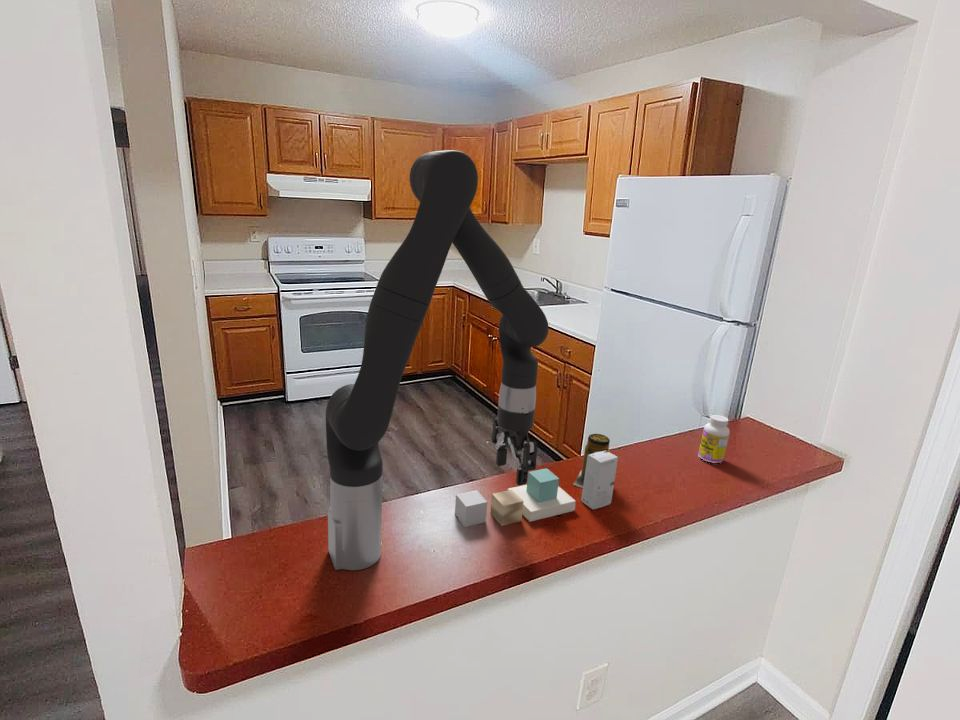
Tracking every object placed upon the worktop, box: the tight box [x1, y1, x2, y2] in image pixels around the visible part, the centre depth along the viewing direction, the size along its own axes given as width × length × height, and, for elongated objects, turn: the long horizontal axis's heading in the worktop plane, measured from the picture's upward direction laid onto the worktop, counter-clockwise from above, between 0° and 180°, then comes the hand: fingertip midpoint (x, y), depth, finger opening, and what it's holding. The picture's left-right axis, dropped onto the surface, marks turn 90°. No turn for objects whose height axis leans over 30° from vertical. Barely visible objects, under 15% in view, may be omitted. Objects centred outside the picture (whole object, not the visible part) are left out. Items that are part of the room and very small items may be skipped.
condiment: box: [573, 433, 611, 489], centre depth 131 cm, size 7×8×12 cm
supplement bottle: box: [697, 414, 731, 463], centre depth 148 cm, size 7×7×13 cm
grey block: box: [454, 489, 488, 528], centre depth 113 cm, size 5×5×5 cm
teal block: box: [526, 468, 560, 503], centre depth 120 cm, size 5×5×5 cm
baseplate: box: [507, 484, 577, 523], centre depth 121 cm, size 12×10×2 cm
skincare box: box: [580, 450, 619, 510], centre depth 122 cm, size 6×4×12 cm
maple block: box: [489, 489, 524, 527], centre depth 114 cm, size 5×5×5 cm
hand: (510, 474), depth 112 cm, fingers open, 8 cm apart
